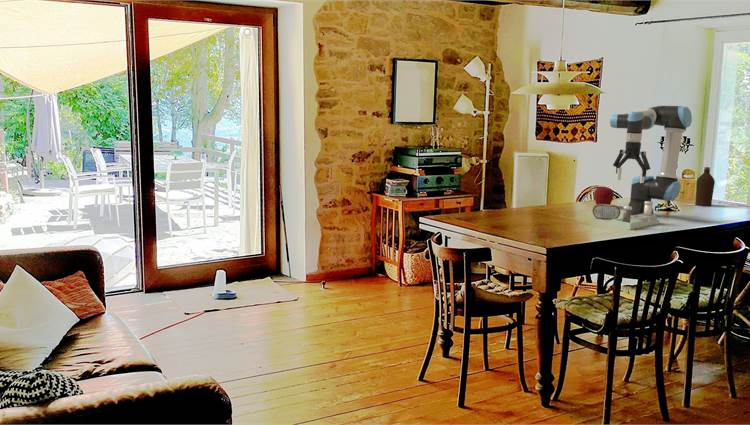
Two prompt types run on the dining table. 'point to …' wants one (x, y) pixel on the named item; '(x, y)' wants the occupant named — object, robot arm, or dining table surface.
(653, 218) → the fuse holder
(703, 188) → the olive oil
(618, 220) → the parts tray
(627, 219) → the fuse
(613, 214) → the tin
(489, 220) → the dining table surface
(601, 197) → the apple
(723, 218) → the dining table surface
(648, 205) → the fuse
